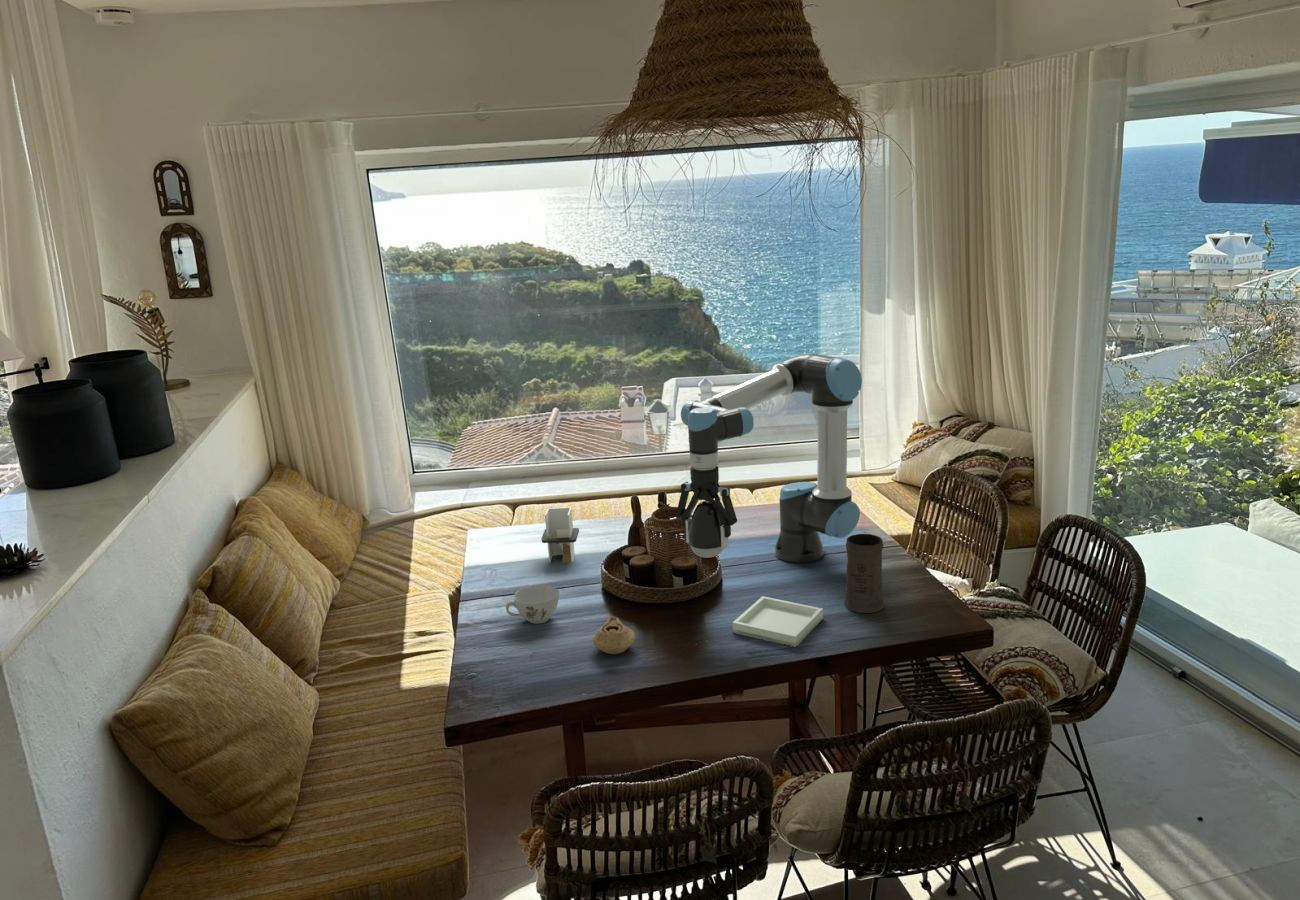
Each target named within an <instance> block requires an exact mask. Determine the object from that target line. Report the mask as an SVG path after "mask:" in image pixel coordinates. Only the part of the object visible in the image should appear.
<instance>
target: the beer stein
mask: <svg viewBox="0 0 1300 900" xmlns="http://www.w3.org/2000/svg"><path fill="white" fill-rule="evenodd" d="M845 548H846V555H847V556H846V557H847V562H846V589H845V591H844V596H845V598H844V601H843V604H844V607H845V608H846V609H848V610H849V611H852V612H854V613H859V614H872V613H876V612H877V613H878V612H879V611H881V610H883V608H884V606H885V602H884V599H883V597H884V591H883V575H882V574H883V570H882V569H883V568H882V567H883V565H882V564H883V561H882V560H883V559H882V558H883V549H884V541H883V539H882V538H881V537H880V536H878V535H875V534H870V533H858V534H853V535H850V536H847V539H846V542H845Z"/></svg>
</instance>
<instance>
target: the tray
mask: <svg viewBox="0 0 1300 900" xmlns="http://www.w3.org/2000/svg"><path fill="white" fill-rule="evenodd" d="M823 619H824V608H822V607H817V606H812V605H807V604H803V603H797V602H792V601H787V600H784V599H778V598H773V597H769V596H764V595H762V596H760V598H758V600H756V601H755V602H754V603H753V604H752V605H751V606H750V607H748V608H747V609H746V610H745V611H744V612H743V613H742V614H741V615H740V616H738V617H737V618H736V619H735V620H733V621H732V633H733V634H737V635H741V636H745V637H750V638H753V639H754V638H755V639H758V640H759V639H760V640H762V639H763V641H767V642H772V643H775V642H776V644H779V643H780V645H784V644H786V645H785V646H788V645H790V646H789V647H792V646H794V648H797V647H798V646H799V645H800V644H801V643H802V642H803V640H804V639H806V637H807V636H808V635H809V634H810V633H811V632H812V631H813V630H814V629H815V628H816V627H817V626H818V625H819V623H820V622H822V621H823ZM796 646H797V647H796Z"/></svg>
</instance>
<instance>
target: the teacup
mask: <svg viewBox="0 0 1300 900" xmlns="http://www.w3.org/2000/svg"><path fill="white" fill-rule="evenodd" d="M559 597H560V590H559V589H557V588H556V587H554V586H550V585H545V584H544V585H543V584H534V585H529V586H526V587H523V588H520V589H519V590H517V591H516V592H515V593H514V595H513V600H514V601H508V602H507V603H506V605H505V610H506V613H507V614H508V615H509V616H511V617H522V618H523V619H525V620H526V621H528V622H529V623H531V624H536V625H538V624H540V625H541V624H544V623H547V621H549V620H550V618H551V617H552V616H553V615H554V613H555V611H556V609H557V607H558V603H559ZM512 606H513V607H514V609H516V610H517V611H518V613H515V612H511V611H510V609H509V608H510V607H512Z"/></svg>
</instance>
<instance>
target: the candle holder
mask: <svg viewBox="0 0 1300 900" xmlns="http://www.w3.org/2000/svg"><path fill="white" fill-rule="evenodd" d="M544 520H545V521H544V522H545V529H544V531H543V533H542V536H541V543H543V544H547V553H548V562H549V564H551V561H552V559H553V556H562V560H561V562H562V564H564V563H573V562H574V559H575V558H574V557H575V554H576V552H575V543H576V542H577V539H578V536H579V532H580V528H579V527H574V524H573V523H574V522H573V510H572V507H571V506H570V507H549V508H547V509H546V512H545V514H544Z"/></svg>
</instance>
